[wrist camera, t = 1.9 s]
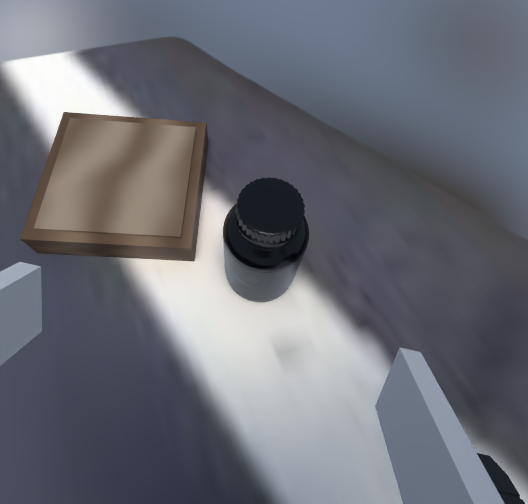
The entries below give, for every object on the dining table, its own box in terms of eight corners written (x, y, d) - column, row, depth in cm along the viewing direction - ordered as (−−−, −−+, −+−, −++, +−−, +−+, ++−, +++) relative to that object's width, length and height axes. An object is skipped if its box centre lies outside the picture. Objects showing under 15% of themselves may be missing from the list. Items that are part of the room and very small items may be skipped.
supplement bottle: (305, 288, 35) (337, 232, 24) (240, 313, 33) (242, 266, 22) (277, 229, 37) (295, 155, 26) (215, 251, 36) (206, 180, 25)
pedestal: (208, 141, 41) (206, 120, 38) (194, 261, 35) (190, 247, 32) (75, 132, 40) (62, 110, 37) (37, 252, 34) (18, 237, 31)
